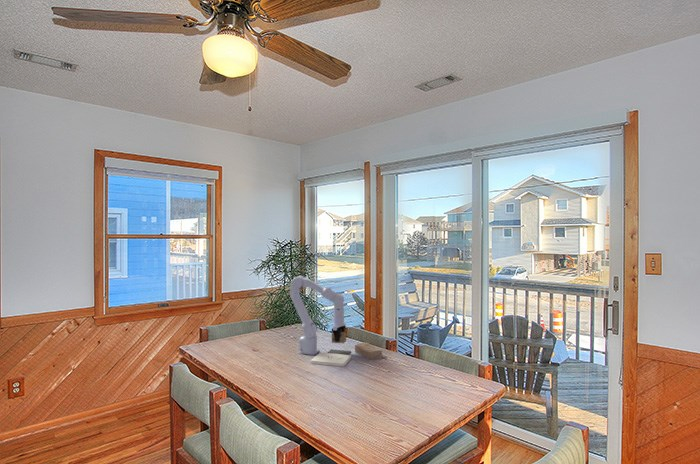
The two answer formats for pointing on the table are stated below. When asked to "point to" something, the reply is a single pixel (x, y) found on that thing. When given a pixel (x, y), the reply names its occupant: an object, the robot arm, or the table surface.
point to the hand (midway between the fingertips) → (338, 340)
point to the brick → (368, 351)
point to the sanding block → (342, 338)
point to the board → (331, 359)
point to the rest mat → (339, 352)
